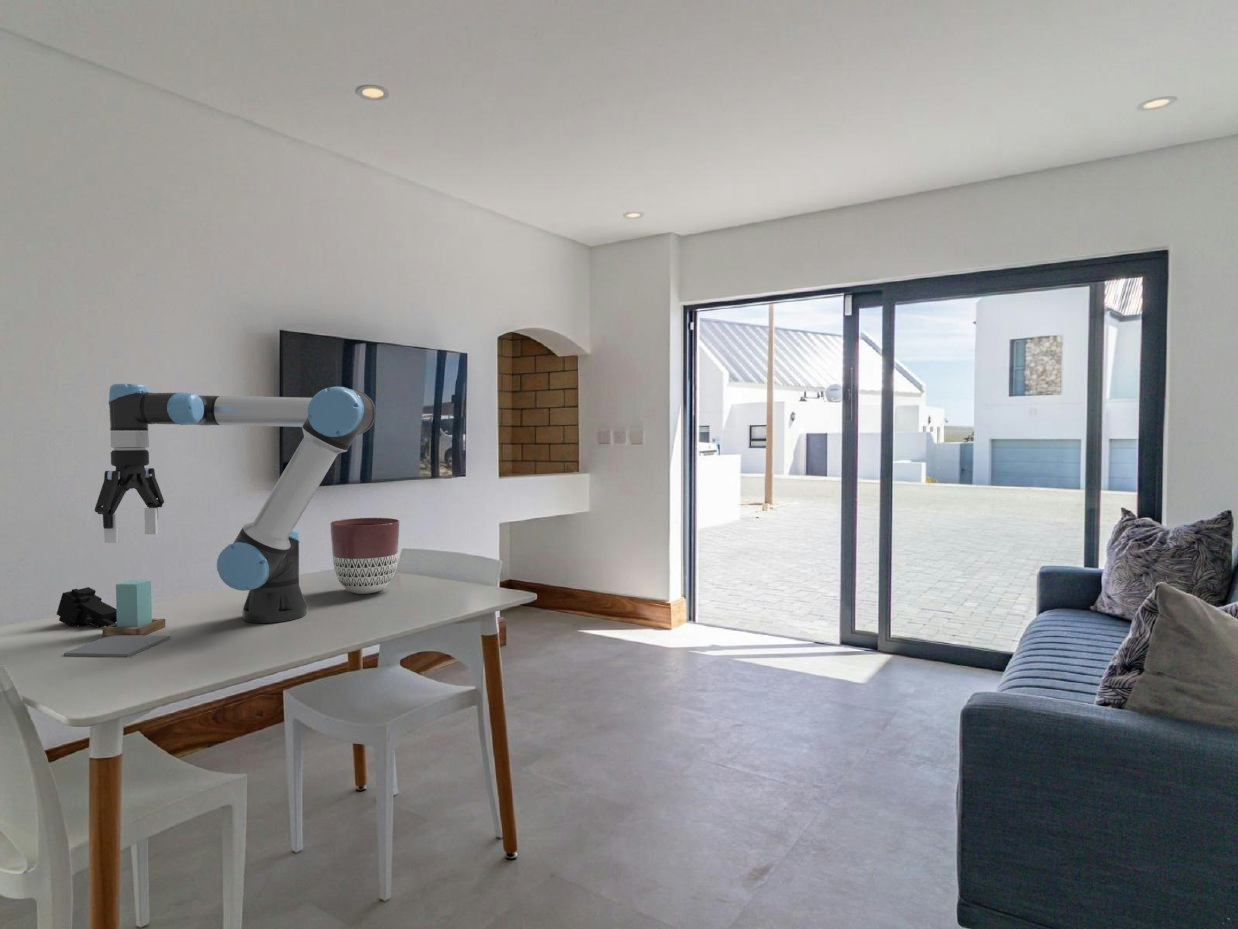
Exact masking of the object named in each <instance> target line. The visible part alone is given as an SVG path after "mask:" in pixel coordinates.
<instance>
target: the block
mask: <svg viewBox="0 0 1238 929" xmlns="http://www.w3.org/2000/svg"><path fill="white" fill-rule="evenodd" d="M115 599H116V600H115V601H116V602H115V606H116V607H115V609H116V610H117V622H116V623H117V627H141V626H144V625H147V624H149V623H152V619H153V617H152V616H153V612H152V611H153V610H152V579H129V580H125V581H123V582H119V583H116V584H115Z"/></svg>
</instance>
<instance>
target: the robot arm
mask: <svg viewBox="0 0 1238 929" xmlns="http://www.w3.org/2000/svg"><path fill="white" fill-rule="evenodd" d="M108 396H109V398H108V405H109V407H108V408H109V422H110V428H109V431H110V447H111V448H112V449H113V450H111V451H110V465H111V466H113V467H115V470H105V471H104V475H103V476H104V477H103V482H102V485H101V490H100V491H99V495H98V497H97V501H96V504H95V507H94V512H95V513H97V514H98V515H102V523H103V524H102V525H103V531H104V532H103V534H104V537H103V538H104V544H105V543H109V544H113V543H114V544H117V543H119V542H120V541H119V515H118V513H116V511H117V509H118V507H119V505H120V503H121V502H122V500H123V499H124V496H125V494H126V492H127V491H129V490H133V489H135V490H136V492H137V494H138V495H139V496H140V498H141V499H142V501H143V503H144V504H145V506H146V507H145V508H143V509H144V534H145V535H158V534H159V528H158V527H159V526H158V524H159V522H158V519H159V510H158V509H159V508H162V507H163V505H164V503H165V500H164V497H163V494H162V492H161V489H160V486H159V483H158V481H157V478H156V472H155V471H156V470H155V468H152V467H146V468H145V466H148V465H149V464H150V452H149V450H147V448H149V446H150V440H149V425H180V426H183V425H185V426H190V425H196V426H242V427H243V426H244V427H245V426H247V427H250V426H253V427H257V426H258V427H261V426H262V427H289V428H290V427H295V428H296V427H299V428H301V430H302V433H303V438H302V440H301V442H300V443H299V445H298V447H297V448H296V450H295V452H294V453H293V455H292V456H291V459H290V460H289V462H288V464H287V465H286V467H285V469H284V470H283V472H282V473H281V475H280V477H279V478H278V480H277V482H276V484H275V485H274V487H273V489H272V490H271V492H270V494H269V495H268V497H267V498H266V501H265V502H264V504H263V506H262V507H261V509H260V511H259V512H258V514H257V516H256V517H255V519H254V520H253V521H252V522H249V523H245V524H244V525H243V526H242V528H241V529H240V531H239V533H238V534H237V536H236V538H235V539H234V541H233V543H231V544H228V545H227V546H226V547H224V548H223V549H222V550H221V552H220V553H219V555H218V557H217V560H216V570H217V573H218V575H219V578H220V579H221V581H222V582H223V583H224V584H225V585H227V586H228V587H229V588H231V589H233V590H236V591H242V592H243V591H248V593H247V596H246V599H245V602H244V605H243V608H242V620H243V621H244V622H247V623H253V624H267V623H268V624H271V623H280V622H281V623H282V622H288V621H292V620H296V619H300V618H302V617H304V616H306V615H307V613H308V612H307V611H308V610H307V609H308V608H307V603H306V600H305V598H304V595H303V592H302V590H301V587H300V546H299V545H300V539H299V532H298V531H297V530H296V529H295V527H296V526H297V524H298V522H299V520H300V519H301V517H302V515H303V513H304V512H305V510H306V508H308V505H309V504H310V502H311V500H312V499H313V497H314V495H315V494H316V491H317V490H318V488H319V487H320V485H321V483H322V481H323V480H324V478H325V476H326V474H327V473H328V472H329V469H330V468H331V467H332V464H333V463H334V461H335V460H336V458H337V457H338V455H339V454H341V453H346V452H348V450H349V449H350V447H351V445H352V444H353V443H354V440H355V439H356V438H357V437H358V436H359V435H362V434H364V433H366V432H367V431H368V430H370V429H371V427H372V426H373V425H374V422H375V420H376V416H377V411H376V405H375V403H374V401H373V400H372V399H371V397H369V396H368V395H367V394H366V393H364V392H362V391H360V390H357V389H351V388H348V387H345V386H331V387H326V388H324V389H321V390H320V391H318V392H316V394H314V396H313V397H294V396H293V397H292V396H291V397H290V396H289V397H287V396H246V395H245V396H242V395H241V396H238V395H237V396H236V395H229V396H228V395H199V394H197V393H193V392H192V393H191V392H183V391H180V392H149V390H148V387H147V385H146V384H142V383H141V384H140V383H114V384H112V385H110V387H109V393H108Z"/></svg>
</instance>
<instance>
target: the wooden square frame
mask: <svg viewBox="0 0 1238 929" xmlns="http://www.w3.org/2000/svg"><path fill="white" fill-rule="evenodd" d="M165 627H166V618H152V623H149V624H147V625H144V626H141V627H117V622H116V623H115V624H112V625H110V626H107V627H106V626H104V627H101V628H102V631H101V632H102V634H101V635H102V637H103V638H104V637H107V636H110V635H149V634H151V633H154V632H156V631H159V630H161V629H164V628H165Z"/></svg>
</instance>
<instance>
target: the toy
mask: <svg viewBox="0 0 1238 929" xmlns="http://www.w3.org/2000/svg"><path fill="white" fill-rule="evenodd" d="M96 592H97V590H95V589H93V588H91V587H90V586H89V587H83V588H79V589H78V588H72V589H71V590H70V591H66V592H62V594H61V597H60V600H59V605H58V608H57V611H56V615H57V616H59V618H58V621H59V622H61V623H63V624H65V625H67V626H69V627H73V626H76V627H81V626H84V625H89V624H90V625H93V626H95V627H96V628H97V629H100V628H104V627H107V626H110V625H112V624H115V623H117V610H116V607H113V606H111V605H109V604H107V603H106V602H104V601H102V597H99V596H98V595H96Z"/></svg>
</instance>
